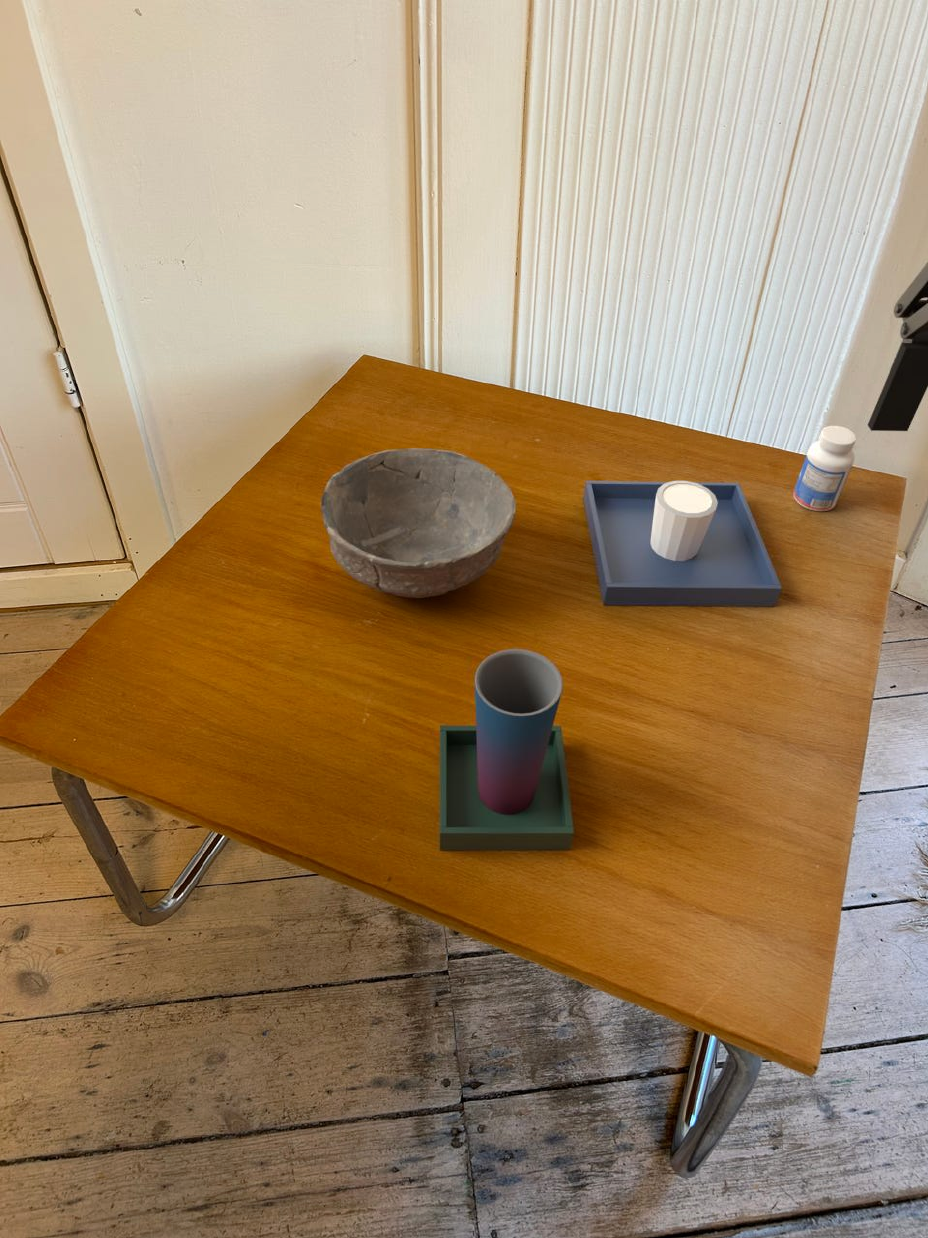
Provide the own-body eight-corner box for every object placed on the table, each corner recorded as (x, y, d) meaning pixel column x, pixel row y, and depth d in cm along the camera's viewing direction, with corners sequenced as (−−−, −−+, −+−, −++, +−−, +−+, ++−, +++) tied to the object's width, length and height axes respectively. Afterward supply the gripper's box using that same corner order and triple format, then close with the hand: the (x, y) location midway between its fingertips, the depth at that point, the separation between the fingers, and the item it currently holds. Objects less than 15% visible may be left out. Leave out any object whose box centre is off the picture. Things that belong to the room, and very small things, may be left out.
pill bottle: (808, 481, 112) (833, 416, 105) (844, 501, 109) (872, 436, 103) (783, 497, 110) (807, 431, 103) (819, 518, 107) (846, 452, 100)
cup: (557, 780, 78) (577, 670, 67) (522, 837, 74) (537, 729, 63) (491, 747, 80) (501, 636, 69) (454, 801, 76) (458, 691, 65)
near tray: (570, 850, 74) (574, 833, 72) (439, 850, 73) (439, 833, 71) (558, 743, 81) (561, 725, 79) (439, 743, 81) (439, 725, 79)
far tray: (775, 606, 95) (782, 588, 93) (603, 605, 95) (606, 586, 93) (733, 500, 109) (739, 482, 107) (583, 498, 108) (585, 480, 106)
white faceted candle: (704, 568, 99) (719, 520, 94) (644, 560, 99) (656, 512, 94) (702, 530, 104) (716, 483, 99) (645, 523, 104) (656, 476, 99)
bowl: (536, 543, 102) (544, 474, 95) (463, 659, 89) (466, 589, 81) (382, 495, 108) (379, 426, 100) (291, 597, 94) (280, 526, 87)
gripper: (925, 72, 52) (813, 386, 67) (1171, 237, 34) (945, 612, 50) (1046, 76, 52) (908, 388, 67) (1352, 241, 35) (1072, 613, 50)
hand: (923, 484), depth 58 cm, fingers open, 13 cm apart
